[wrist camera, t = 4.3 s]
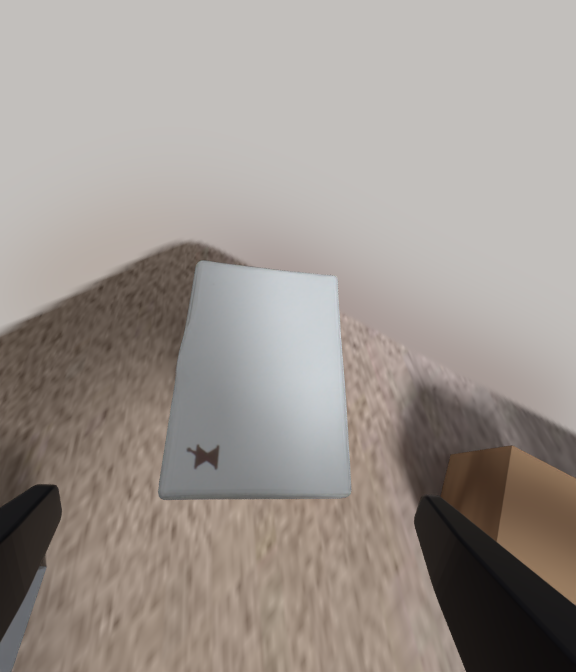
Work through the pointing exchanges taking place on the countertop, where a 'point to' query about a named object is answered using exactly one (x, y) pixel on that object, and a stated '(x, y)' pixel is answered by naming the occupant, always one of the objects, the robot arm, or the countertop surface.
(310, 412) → the skincare box
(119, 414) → the countertop surface
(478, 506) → the walnut block
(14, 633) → the slate block
